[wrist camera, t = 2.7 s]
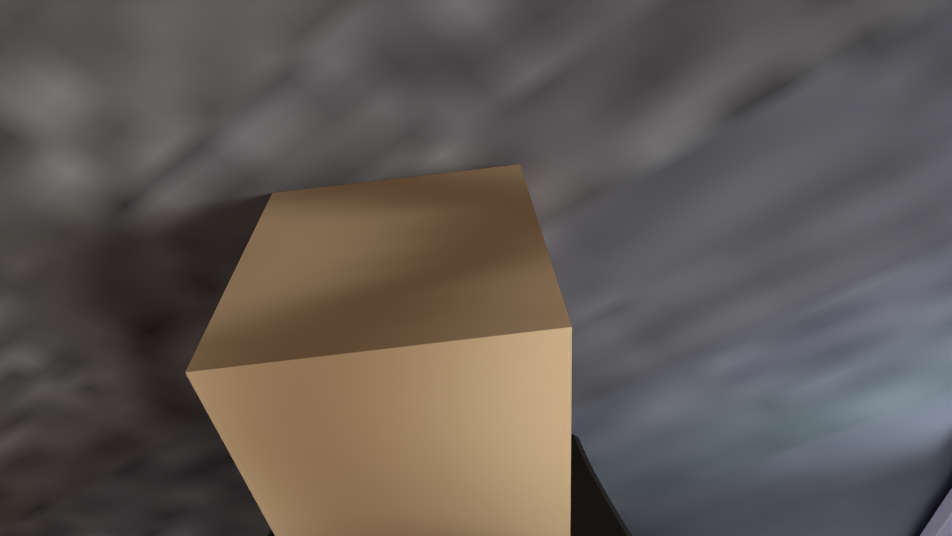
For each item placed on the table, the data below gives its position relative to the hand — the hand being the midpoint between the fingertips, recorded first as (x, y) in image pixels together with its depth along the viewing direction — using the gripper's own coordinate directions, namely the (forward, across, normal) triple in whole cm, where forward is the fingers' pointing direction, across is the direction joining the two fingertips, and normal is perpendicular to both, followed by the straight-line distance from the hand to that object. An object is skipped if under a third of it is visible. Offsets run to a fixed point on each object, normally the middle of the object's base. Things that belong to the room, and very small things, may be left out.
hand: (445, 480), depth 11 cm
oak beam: (+2, 0, 0) cm, 2 cm away
